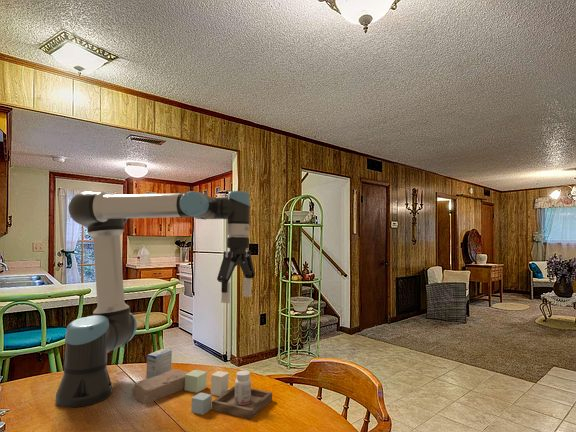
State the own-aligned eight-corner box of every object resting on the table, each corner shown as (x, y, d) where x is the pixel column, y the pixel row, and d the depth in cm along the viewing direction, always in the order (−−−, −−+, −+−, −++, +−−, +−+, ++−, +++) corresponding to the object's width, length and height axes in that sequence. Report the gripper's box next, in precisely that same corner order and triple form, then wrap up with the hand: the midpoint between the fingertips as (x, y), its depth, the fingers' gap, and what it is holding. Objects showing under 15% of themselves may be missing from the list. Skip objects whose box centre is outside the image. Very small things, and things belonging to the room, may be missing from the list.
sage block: (184, 390, 117) (185, 374, 117) (194, 384, 122) (194, 369, 122) (197, 393, 115) (197, 377, 115) (206, 387, 120) (206, 371, 120)
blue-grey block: (191, 412, 102) (191, 397, 103) (200, 406, 106) (200, 392, 106) (202, 415, 101) (203, 400, 101) (211, 409, 104) (211, 394, 105)
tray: (211, 409, 104) (212, 401, 104) (235, 392, 116) (235, 385, 116) (251, 419, 99) (251, 410, 99) (272, 400, 111) (272, 392, 111)
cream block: (210, 394, 114) (211, 374, 115) (217, 389, 118) (218, 370, 118) (221, 396, 113) (221, 377, 113) (228, 391, 116) (228, 372, 117)
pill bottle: (252, 399, 109) (253, 370, 110) (247, 406, 104) (248, 376, 105) (238, 397, 110) (238, 369, 111) (232, 404, 106) (232, 374, 106)
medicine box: (161, 372, 132) (162, 348, 133) (171, 374, 131) (172, 349, 131) (145, 380, 125) (146, 354, 126) (155, 382, 123) (156, 356, 124)
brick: (145, 405, 107) (146, 388, 107) (130, 397, 112) (131, 382, 112) (191, 387, 120) (191, 373, 120) (175, 381, 125) (176, 367, 125)
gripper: (227, 236, 110) (225, 306, 109) (264, 237, 133) (263, 295, 132) (207, 236, 113) (205, 304, 112) (247, 237, 136) (245, 293, 135)
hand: (236, 299), depth 122 cm, fingers open, 13 cm apart
